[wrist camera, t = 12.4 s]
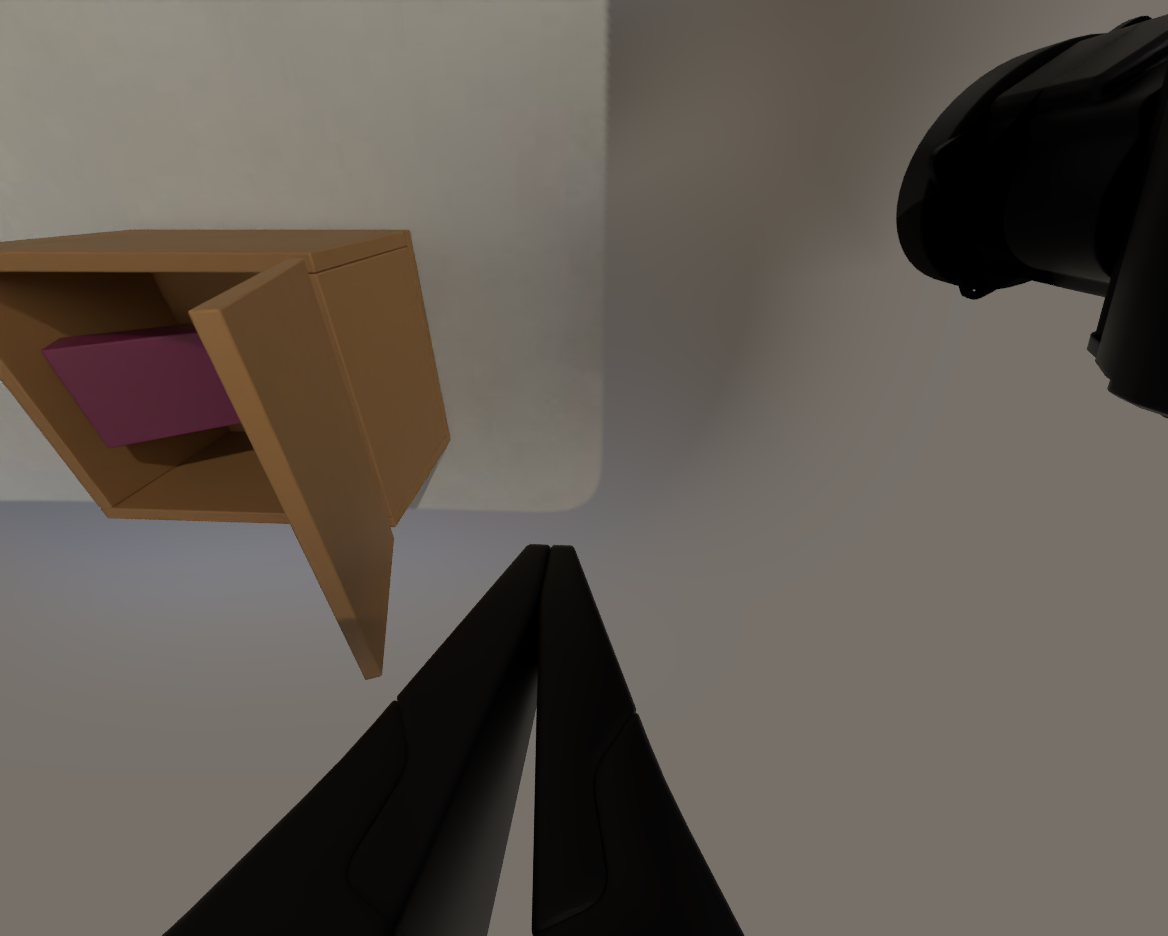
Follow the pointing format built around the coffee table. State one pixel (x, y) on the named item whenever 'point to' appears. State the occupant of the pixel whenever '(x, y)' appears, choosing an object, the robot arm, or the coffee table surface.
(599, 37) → the coffee table surface
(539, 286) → the coffee table surface
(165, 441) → the carton
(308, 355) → the flap
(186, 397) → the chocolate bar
